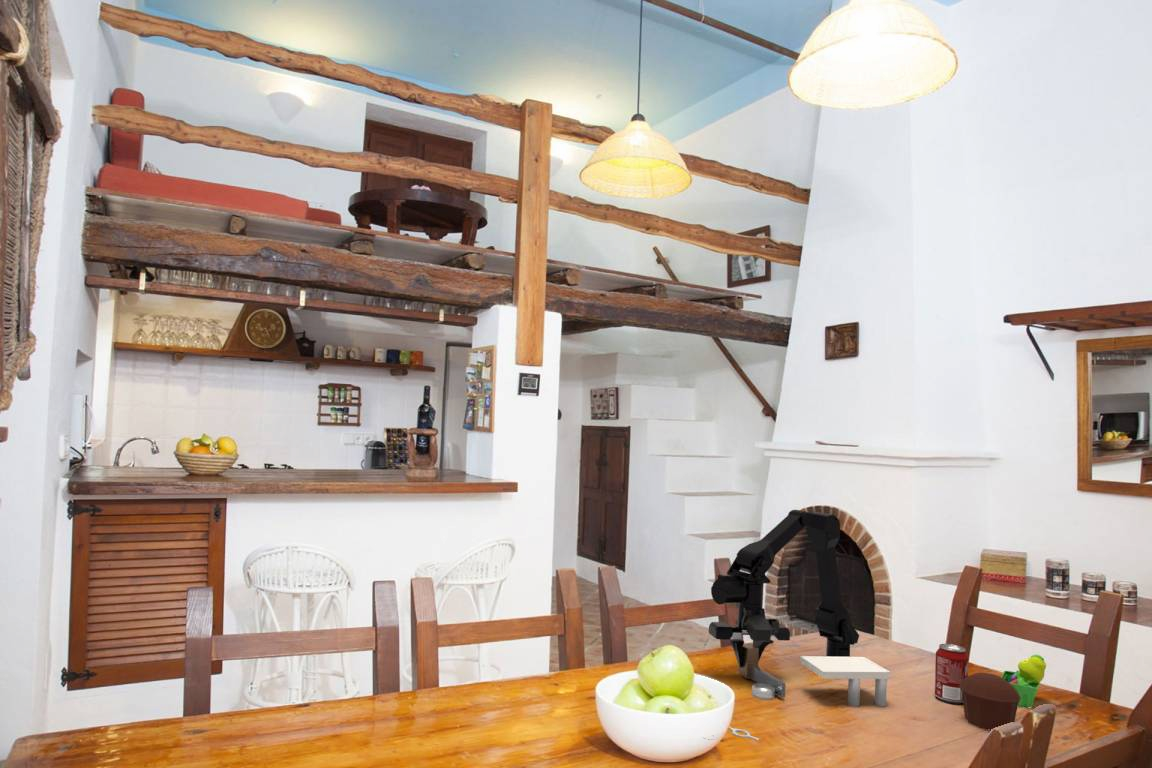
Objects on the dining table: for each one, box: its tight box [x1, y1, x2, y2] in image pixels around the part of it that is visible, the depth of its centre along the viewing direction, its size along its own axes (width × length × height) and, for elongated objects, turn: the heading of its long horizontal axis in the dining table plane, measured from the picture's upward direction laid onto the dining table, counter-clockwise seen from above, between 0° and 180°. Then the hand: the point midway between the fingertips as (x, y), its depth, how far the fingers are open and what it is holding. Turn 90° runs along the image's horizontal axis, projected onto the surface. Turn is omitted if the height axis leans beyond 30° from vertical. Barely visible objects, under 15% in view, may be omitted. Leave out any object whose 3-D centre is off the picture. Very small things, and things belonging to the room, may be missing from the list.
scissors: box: [728, 726, 760, 742], centre depth 154 cm, size 11×1×20 cm
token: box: [751, 682, 776, 701], centre depth 172 cm, size 5×5×2 cm
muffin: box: [959, 672, 1021, 731], centre depth 163 cm, size 12×11×10 cm
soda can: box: [934, 643, 969, 705], centre depth 177 cm, size 7×7×12 cm
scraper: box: [737, 642, 786, 698], centre depth 178 cm, size 17×3×7 cm, turn 18°
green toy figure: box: [1000, 654, 1047, 708], centre depth 179 cm, size 11×9×11 cm
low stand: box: [799, 655, 891, 708], centre depth 174 cm, size 11×16×8 cm
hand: (747, 667), depth 184 cm, fingers closed on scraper, 3 cm apart
